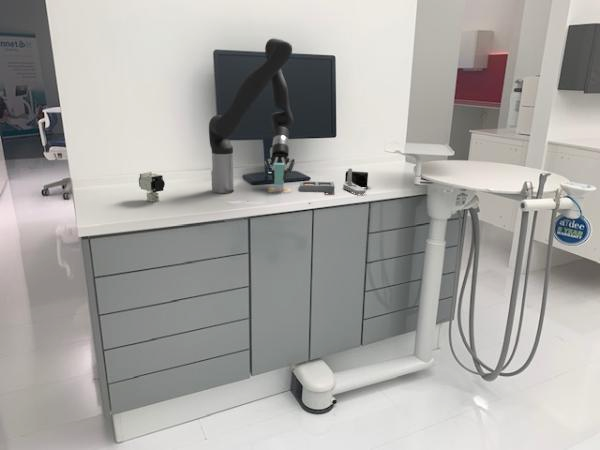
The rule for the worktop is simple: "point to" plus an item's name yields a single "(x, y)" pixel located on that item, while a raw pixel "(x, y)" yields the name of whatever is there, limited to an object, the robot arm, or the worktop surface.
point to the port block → (317, 186)
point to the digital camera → (358, 178)
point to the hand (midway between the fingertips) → (279, 179)
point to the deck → (286, 190)
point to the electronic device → (352, 185)
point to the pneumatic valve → (151, 185)
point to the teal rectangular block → (278, 177)
